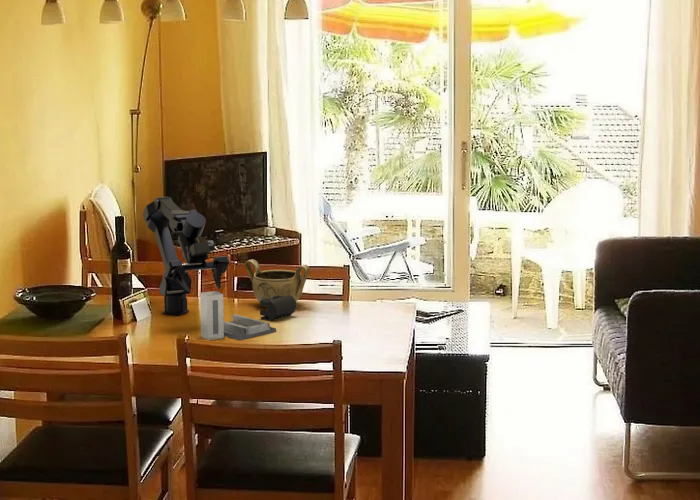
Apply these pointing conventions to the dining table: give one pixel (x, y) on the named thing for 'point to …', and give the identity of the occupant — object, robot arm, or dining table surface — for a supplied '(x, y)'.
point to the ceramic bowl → (276, 281)
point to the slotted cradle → (246, 328)
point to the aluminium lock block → (212, 315)
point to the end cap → (277, 307)
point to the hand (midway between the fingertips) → (204, 290)
